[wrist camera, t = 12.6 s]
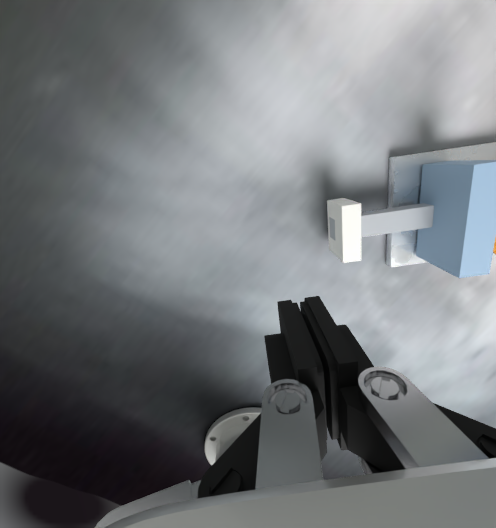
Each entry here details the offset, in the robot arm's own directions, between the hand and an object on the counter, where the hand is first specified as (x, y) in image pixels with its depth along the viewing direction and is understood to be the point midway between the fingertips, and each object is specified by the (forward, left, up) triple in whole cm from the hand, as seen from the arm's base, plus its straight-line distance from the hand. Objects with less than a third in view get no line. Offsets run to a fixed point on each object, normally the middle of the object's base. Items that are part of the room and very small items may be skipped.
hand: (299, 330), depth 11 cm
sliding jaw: (0, -12, -17) cm, 21 cm away
